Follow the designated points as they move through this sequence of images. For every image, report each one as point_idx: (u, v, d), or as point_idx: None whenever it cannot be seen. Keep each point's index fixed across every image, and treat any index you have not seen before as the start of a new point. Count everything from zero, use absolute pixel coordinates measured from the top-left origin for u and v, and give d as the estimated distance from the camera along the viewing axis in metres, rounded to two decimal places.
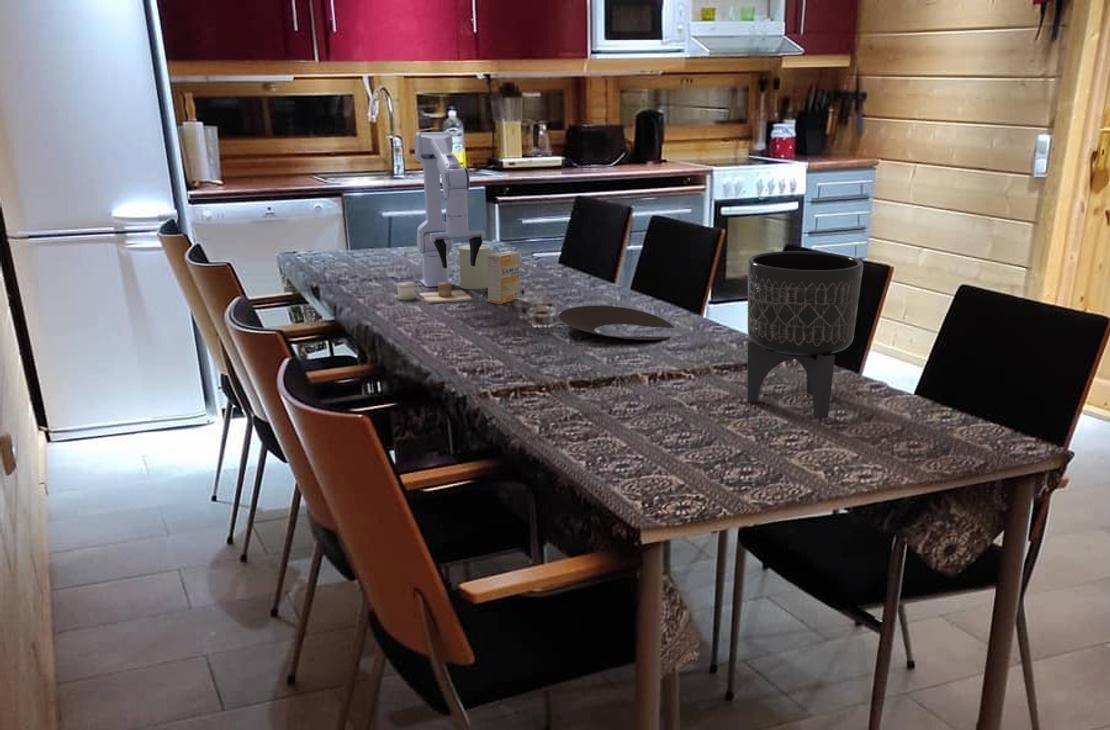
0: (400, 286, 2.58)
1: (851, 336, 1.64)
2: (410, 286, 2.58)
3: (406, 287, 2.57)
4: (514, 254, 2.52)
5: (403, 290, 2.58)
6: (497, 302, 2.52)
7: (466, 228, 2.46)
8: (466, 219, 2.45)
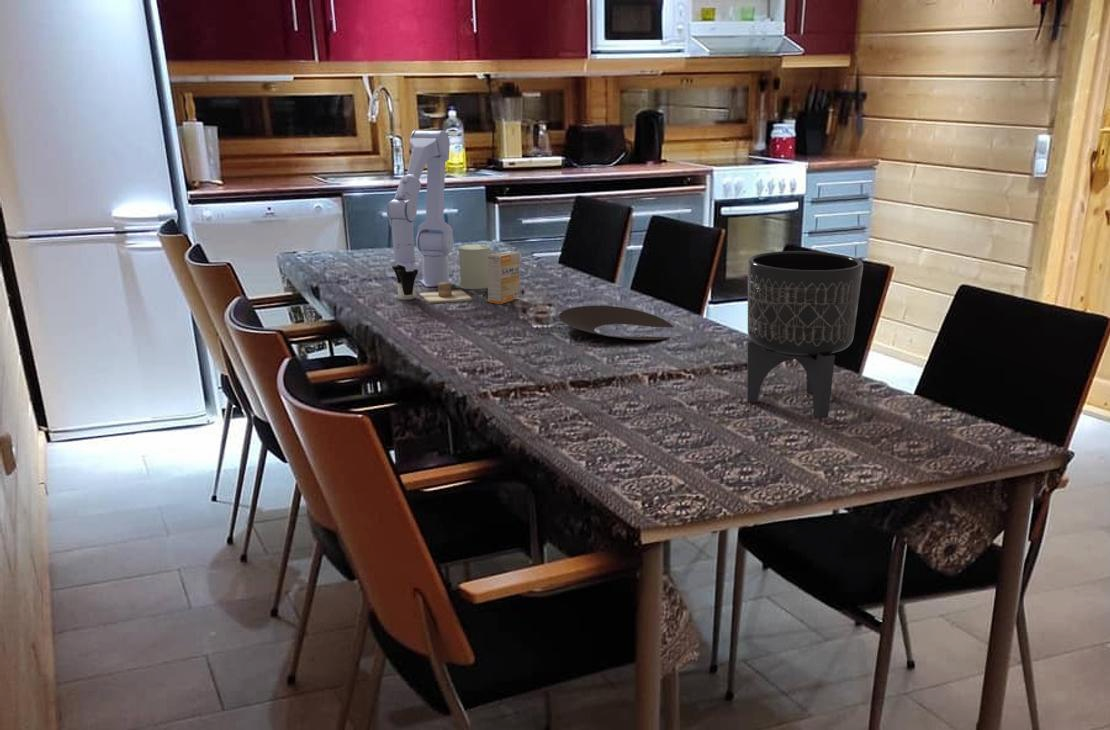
0: (400, 286, 2.58)
1: (851, 336, 1.64)
2: None
3: None
4: (514, 254, 2.52)
5: None
6: (497, 302, 2.52)
7: (398, 257, 2.55)
8: (398, 249, 2.54)
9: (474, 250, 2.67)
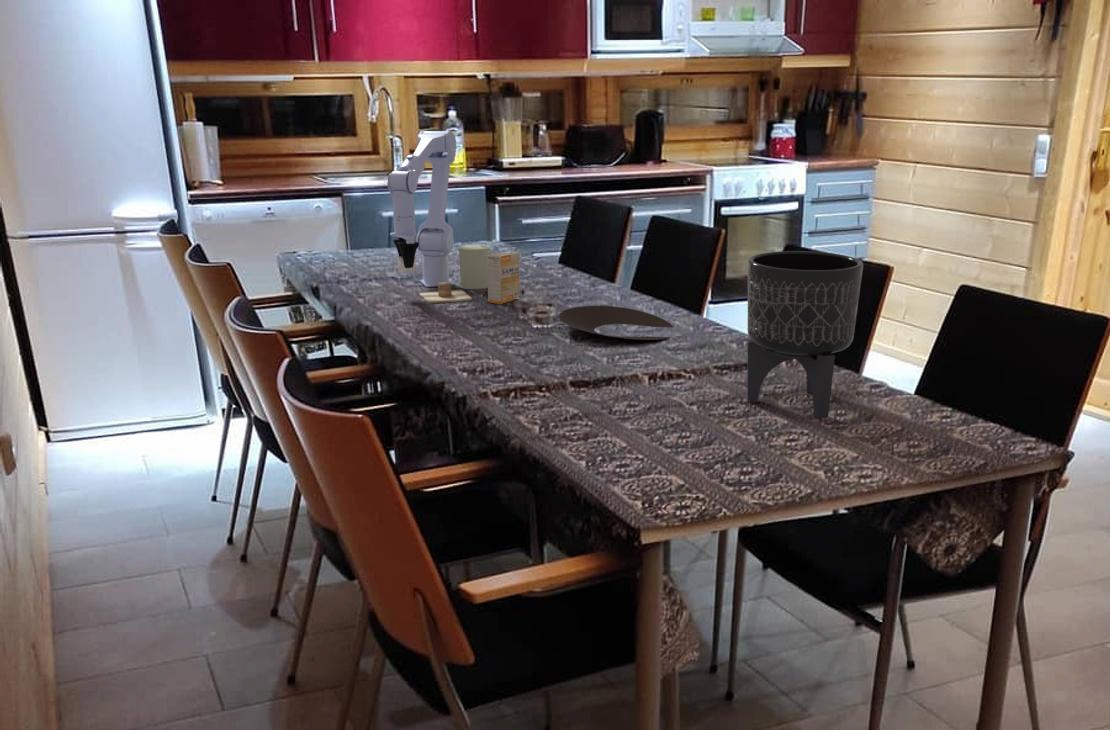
0: (401, 259, 2.55)
1: (851, 336, 1.64)
2: None
3: None
4: (514, 254, 2.52)
5: None
6: (497, 302, 2.52)
7: (398, 229, 2.53)
8: (398, 221, 2.52)
9: (474, 250, 2.67)
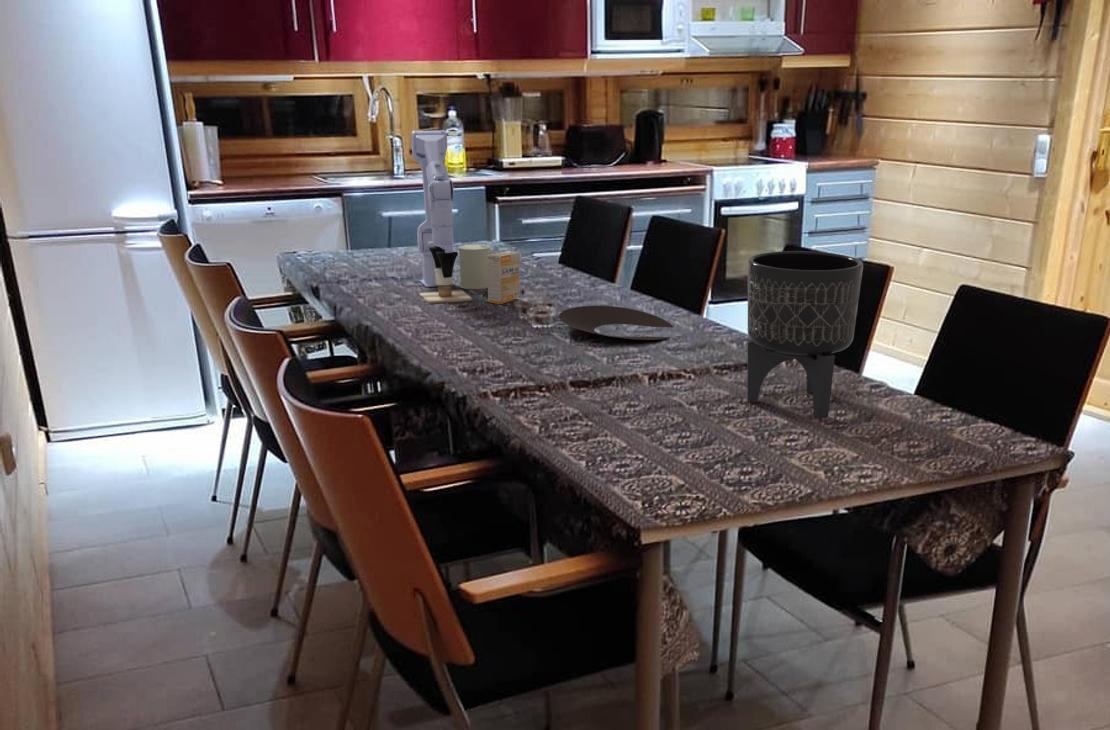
0: (438, 271, 2.56)
1: (851, 336, 1.64)
2: None
3: None
4: (514, 254, 2.52)
5: (441, 275, 2.56)
6: (497, 302, 2.52)
7: (436, 238, 2.53)
8: (437, 230, 2.52)
9: (474, 250, 2.67)
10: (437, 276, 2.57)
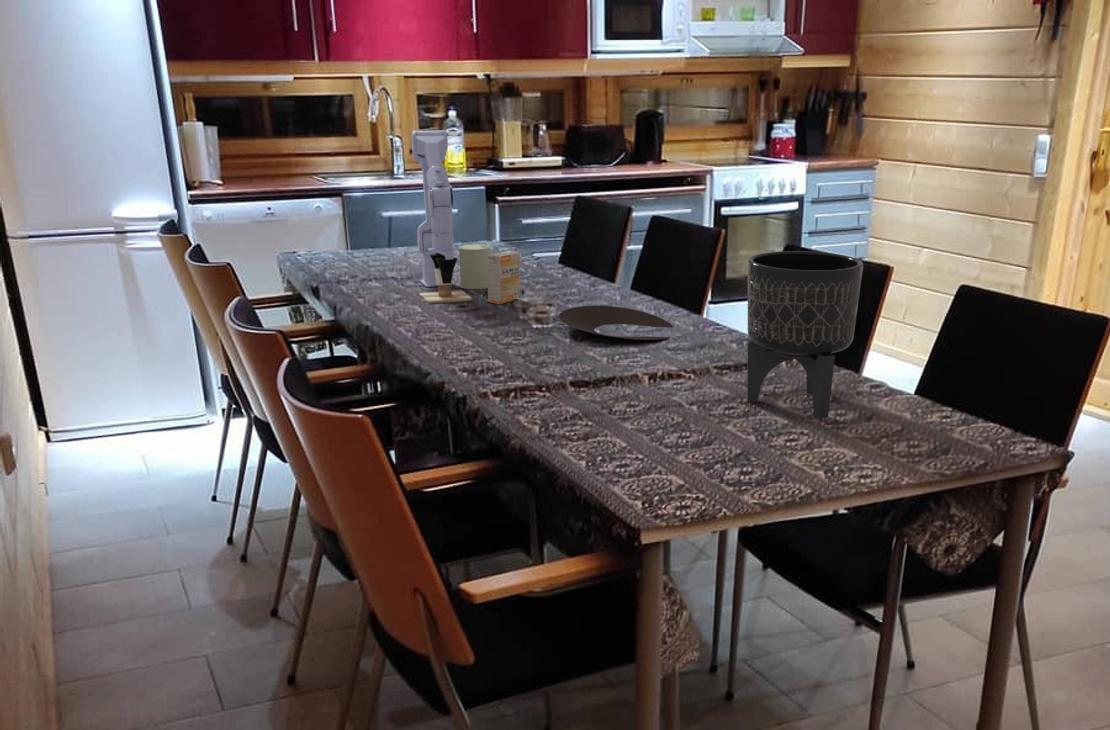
0: (438, 271, 2.56)
1: (851, 336, 1.64)
2: None
3: None
4: (514, 254, 2.52)
5: None
6: (497, 302, 2.52)
7: (437, 245, 2.54)
8: (437, 237, 2.53)
9: (474, 250, 2.67)
10: (437, 276, 2.57)
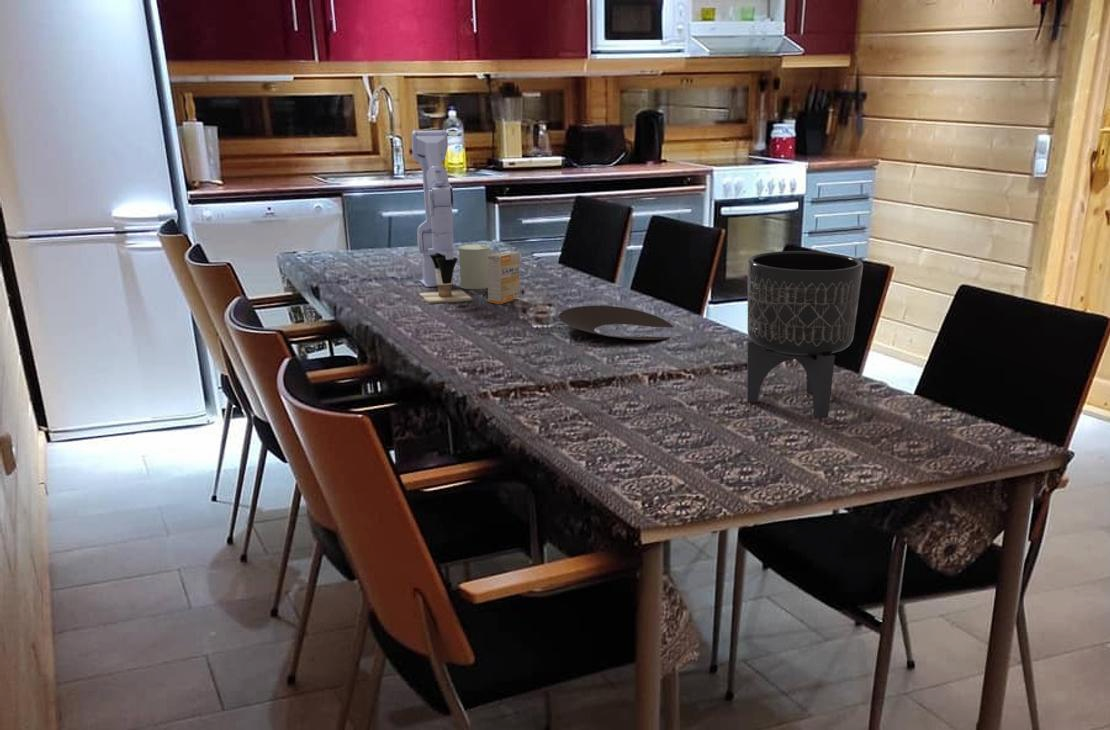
0: None
1: (851, 336, 1.64)
2: None
3: None
4: (514, 254, 2.52)
5: None
6: (497, 302, 2.52)
7: (437, 245, 2.54)
8: (437, 237, 2.53)
9: (474, 250, 2.67)
10: None
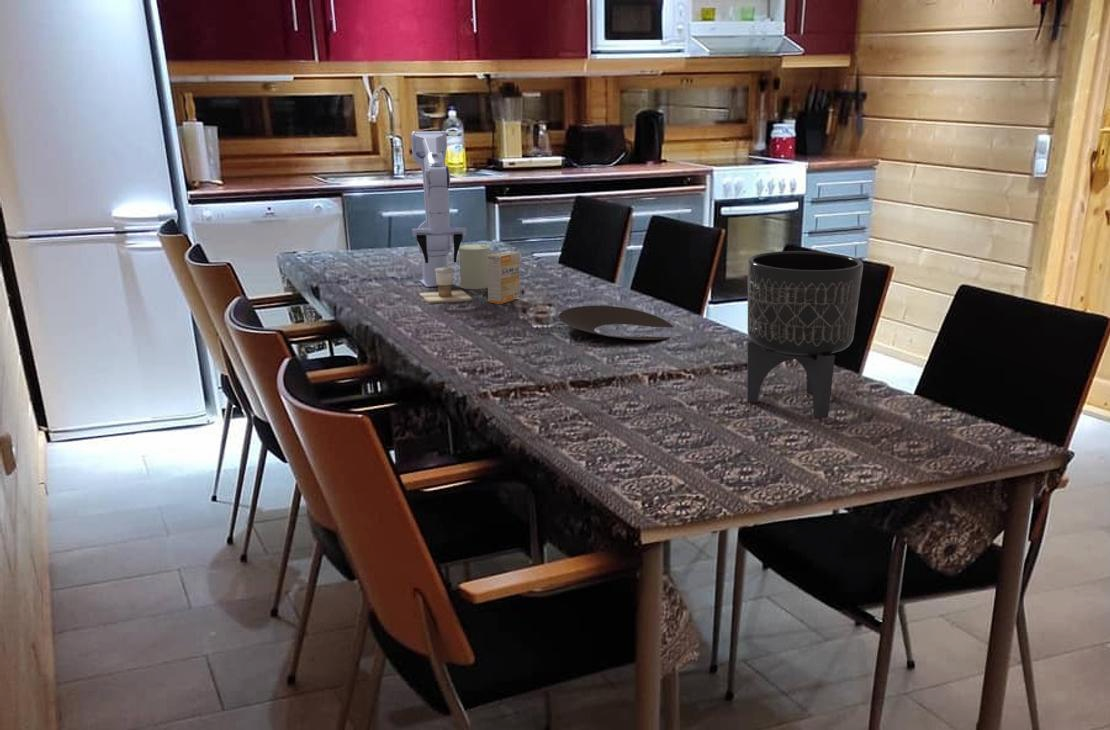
0: None
1: (851, 336, 1.64)
2: None
3: None
4: (514, 254, 2.52)
5: None
6: (497, 302, 2.52)
7: (446, 225, 2.53)
8: (446, 216, 2.53)
9: (474, 250, 2.67)
10: (452, 274, 2.59)
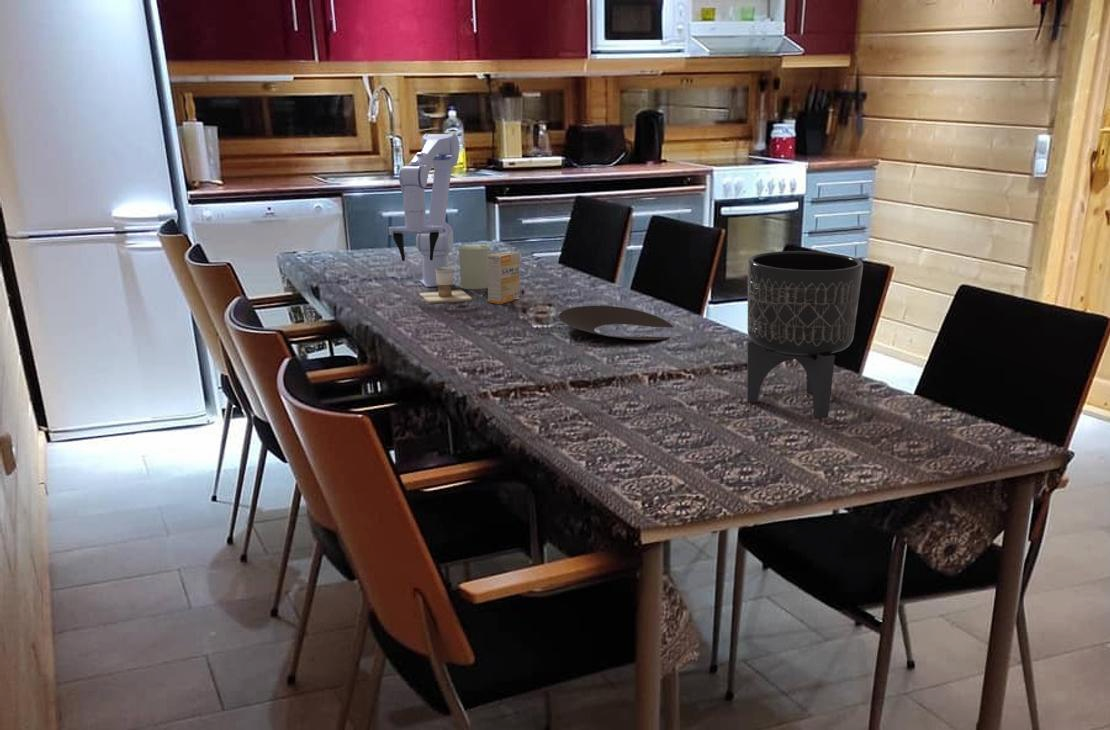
0: None
1: (851, 336, 1.64)
2: None
3: None
4: (514, 254, 2.52)
5: None
6: (497, 302, 2.52)
7: (422, 223, 2.56)
8: (422, 215, 2.56)
9: (474, 250, 2.67)
10: (452, 274, 2.59)
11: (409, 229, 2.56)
